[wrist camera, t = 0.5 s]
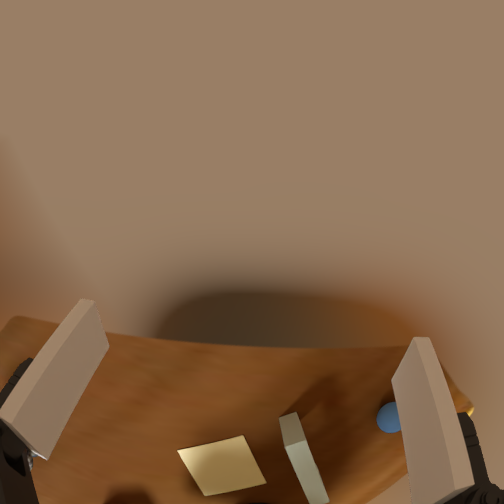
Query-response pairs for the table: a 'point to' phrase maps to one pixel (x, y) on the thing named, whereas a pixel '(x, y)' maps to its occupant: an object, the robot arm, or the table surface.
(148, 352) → the table surface
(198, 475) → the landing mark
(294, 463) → the bridge
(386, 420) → the ball
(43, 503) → the table surface
